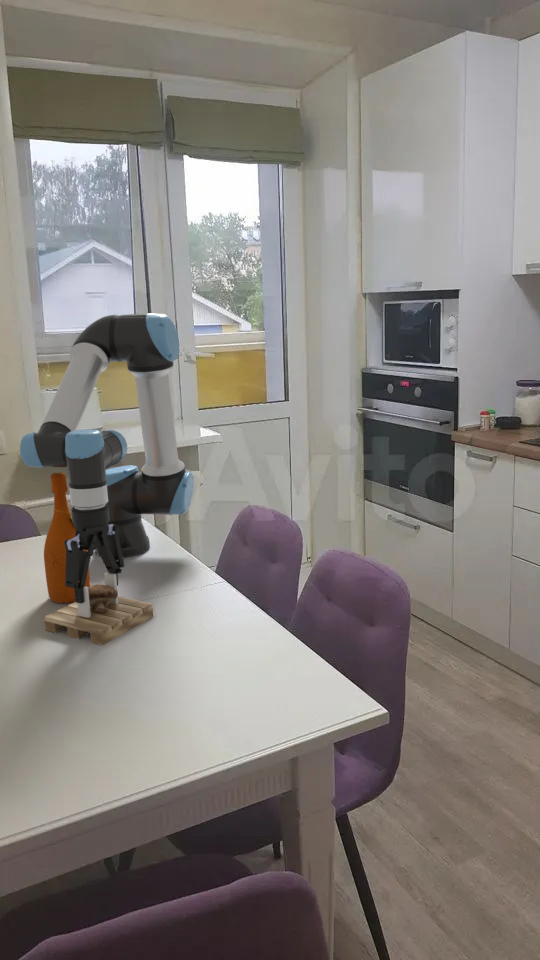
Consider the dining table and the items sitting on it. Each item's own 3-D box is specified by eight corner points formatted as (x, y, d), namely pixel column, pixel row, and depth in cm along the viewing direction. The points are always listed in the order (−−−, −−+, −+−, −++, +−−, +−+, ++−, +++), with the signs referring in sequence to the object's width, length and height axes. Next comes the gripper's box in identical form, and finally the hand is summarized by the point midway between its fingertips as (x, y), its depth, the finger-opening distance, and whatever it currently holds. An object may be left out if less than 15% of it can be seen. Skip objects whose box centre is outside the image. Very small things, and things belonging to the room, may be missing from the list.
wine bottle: (66, 608, 167) (53, 478, 161) (39, 599, 173) (25, 474, 167) (100, 594, 175) (89, 470, 168) (73, 586, 181) (61, 466, 174)
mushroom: (111, 604, 152) (103, 576, 154) (77, 619, 153) (69, 591, 155) (127, 608, 160) (119, 581, 162) (94, 622, 160) (86, 595, 162)
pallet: (98, 603, 170) (97, 591, 169) (153, 616, 162) (152, 603, 161) (45, 630, 156) (43, 616, 156) (102, 645, 148) (101, 631, 147)
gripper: (110, 492, 164) (118, 590, 169) (38, 515, 146) (49, 623, 151) (136, 495, 160) (144, 595, 165) (66, 519, 143) (76, 630, 148)
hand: (98, 608), depth 158 cm, fingers closed on mushroom, 8 cm apart
